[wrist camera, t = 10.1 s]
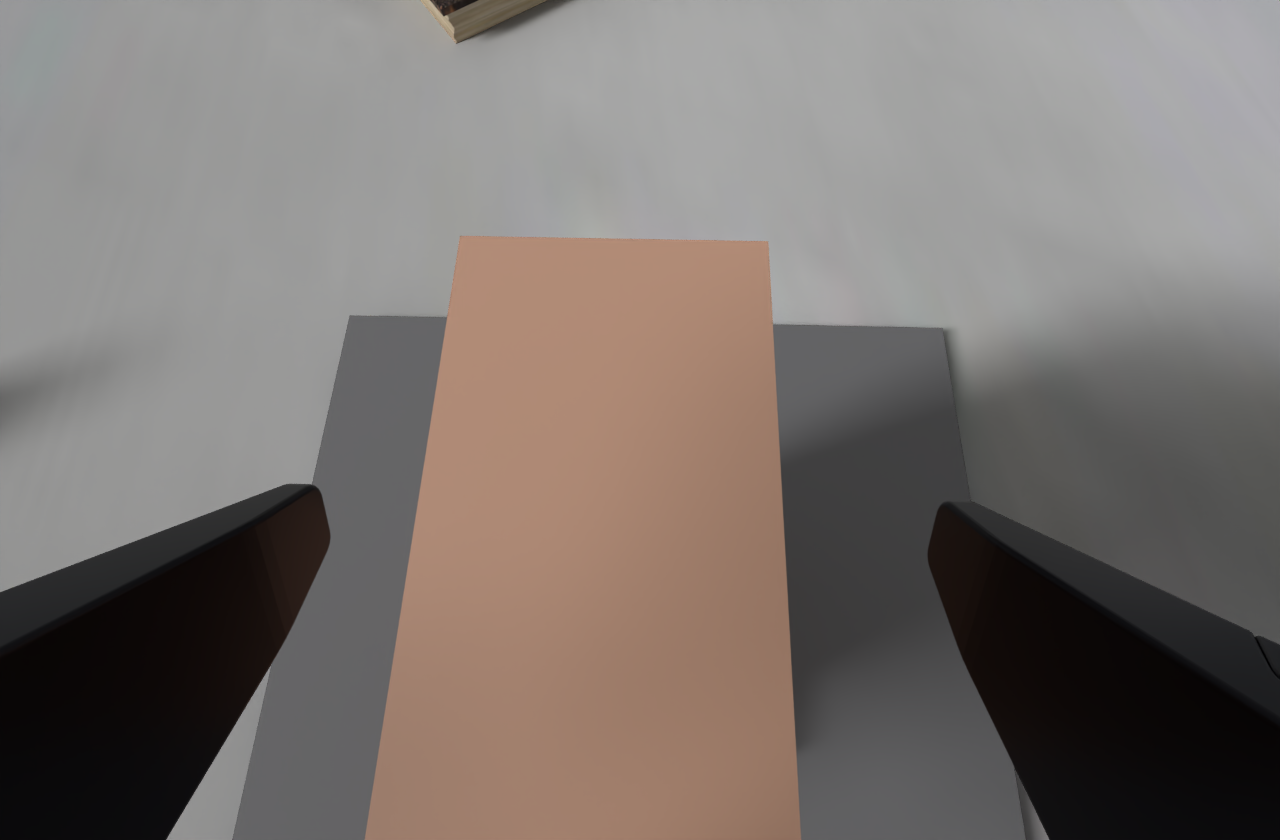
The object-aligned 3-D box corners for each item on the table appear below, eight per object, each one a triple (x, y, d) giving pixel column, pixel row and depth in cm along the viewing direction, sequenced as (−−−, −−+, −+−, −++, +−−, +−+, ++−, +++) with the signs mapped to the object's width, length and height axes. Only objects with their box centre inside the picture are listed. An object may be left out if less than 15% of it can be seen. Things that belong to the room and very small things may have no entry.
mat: (1058, 1113, 13) (1073, 1130, 12) (193, 1074, 13) (176, 1090, 13) (935, 336, 19) (942, 328, 19) (356, 323, 19) (349, 315, 19)
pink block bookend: (740, 780, 14) (1141, 1312, 3) (518, 772, 15) (-7, 1258, 3) (733, 509, 17) (937, 171, 5) (541, 505, 17) (302, 162, 5)
